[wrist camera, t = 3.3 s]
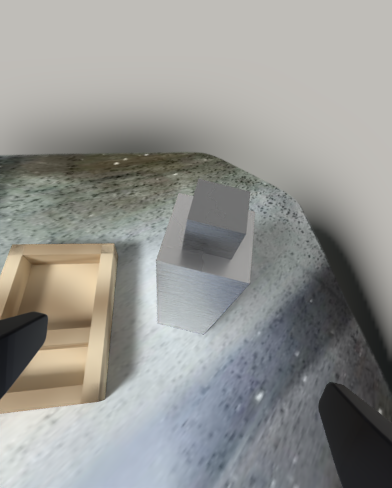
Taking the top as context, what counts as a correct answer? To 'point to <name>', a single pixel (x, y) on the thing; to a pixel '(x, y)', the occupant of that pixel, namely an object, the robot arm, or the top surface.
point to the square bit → (204, 256)
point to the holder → (61, 321)
